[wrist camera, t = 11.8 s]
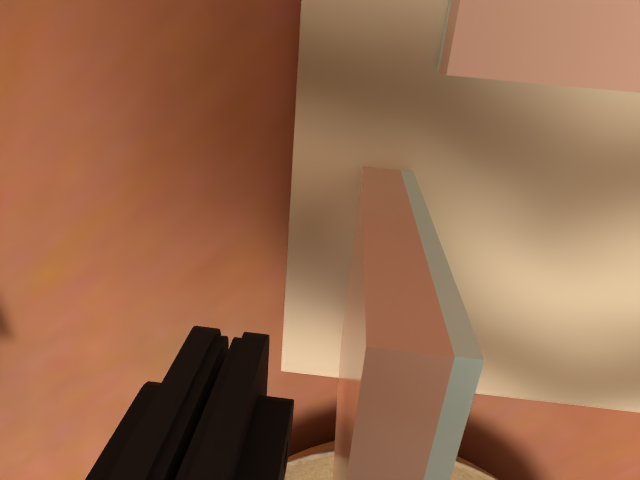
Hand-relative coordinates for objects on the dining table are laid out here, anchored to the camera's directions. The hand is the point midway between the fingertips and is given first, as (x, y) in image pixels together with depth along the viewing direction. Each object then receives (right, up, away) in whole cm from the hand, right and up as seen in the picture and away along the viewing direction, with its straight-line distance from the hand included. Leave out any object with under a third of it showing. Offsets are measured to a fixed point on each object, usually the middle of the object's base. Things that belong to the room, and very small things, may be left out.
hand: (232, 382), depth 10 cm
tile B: (+4, +2, +5) cm, 7 cm away
